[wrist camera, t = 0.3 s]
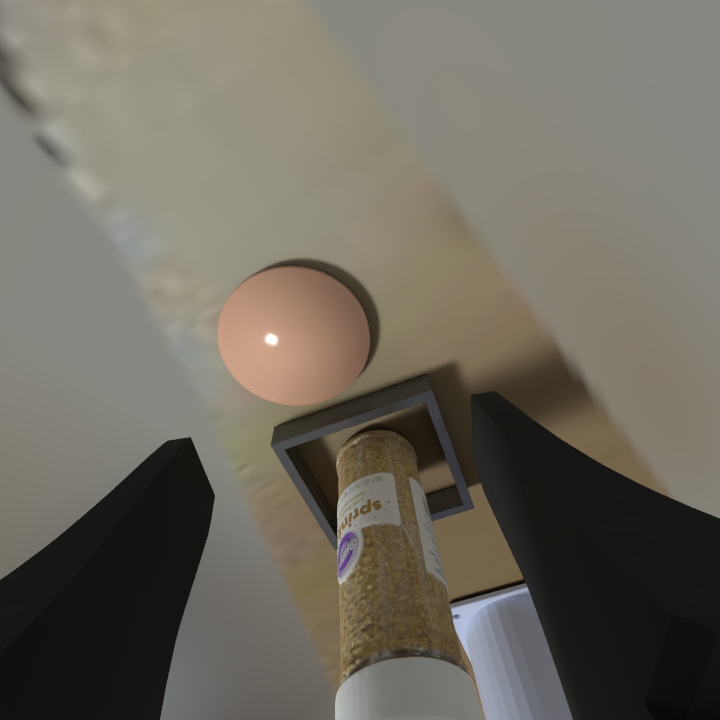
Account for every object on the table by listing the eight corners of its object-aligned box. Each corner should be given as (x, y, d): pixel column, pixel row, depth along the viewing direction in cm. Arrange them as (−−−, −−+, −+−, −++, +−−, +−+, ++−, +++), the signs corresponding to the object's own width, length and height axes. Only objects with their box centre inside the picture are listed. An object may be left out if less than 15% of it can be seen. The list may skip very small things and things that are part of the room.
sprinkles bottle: (344, 420, 23) (353, 725, 12) (427, 432, 24) (515, 733, 12) (328, 484, 26) (322, 798, 14) (404, 494, 26) (462, 802, 14)
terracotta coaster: (389, 372, 22) (390, 377, 22) (262, 417, 23) (260, 423, 23) (335, 241, 19) (335, 243, 19) (190, 299, 20) (187, 303, 19)
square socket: (467, 488, 26) (474, 508, 25) (335, 529, 27) (335, 550, 26) (426, 374, 22) (432, 390, 21) (274, 427, 23) (270, 445, 22)
